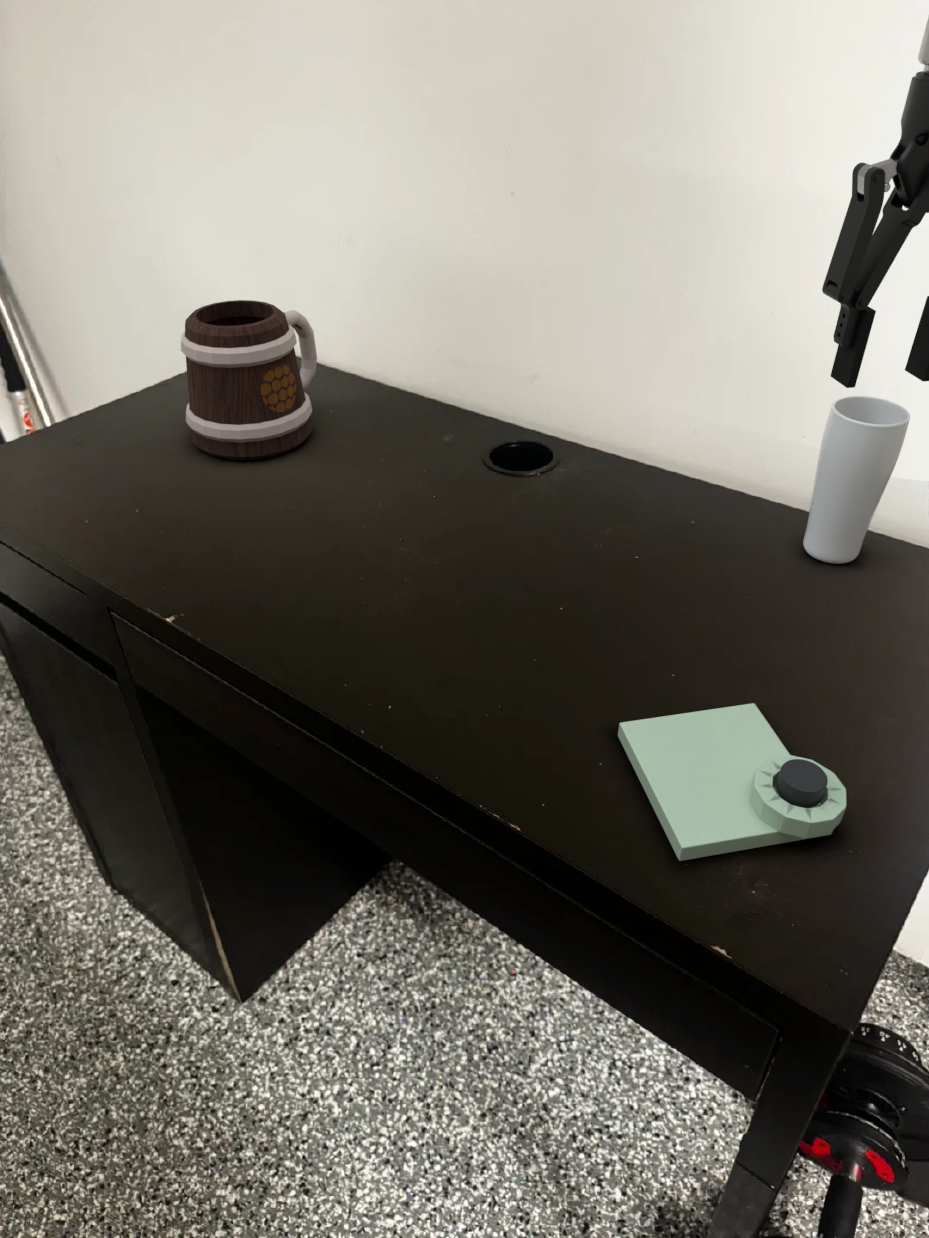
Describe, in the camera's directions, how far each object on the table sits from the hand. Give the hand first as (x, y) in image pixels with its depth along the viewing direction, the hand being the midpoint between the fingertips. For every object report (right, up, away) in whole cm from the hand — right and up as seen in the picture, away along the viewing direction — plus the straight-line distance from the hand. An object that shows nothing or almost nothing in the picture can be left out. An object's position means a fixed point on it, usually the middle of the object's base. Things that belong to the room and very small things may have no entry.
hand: (880, 378), depth 78 cm
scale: (-18, -33, -14) cm, 40 cm away
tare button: (-14, -33, -18) cm, 40 cm away
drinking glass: (0, -15, +11) cm, 18 cm away
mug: (-61, +3, +33) cm, 70 cm away
